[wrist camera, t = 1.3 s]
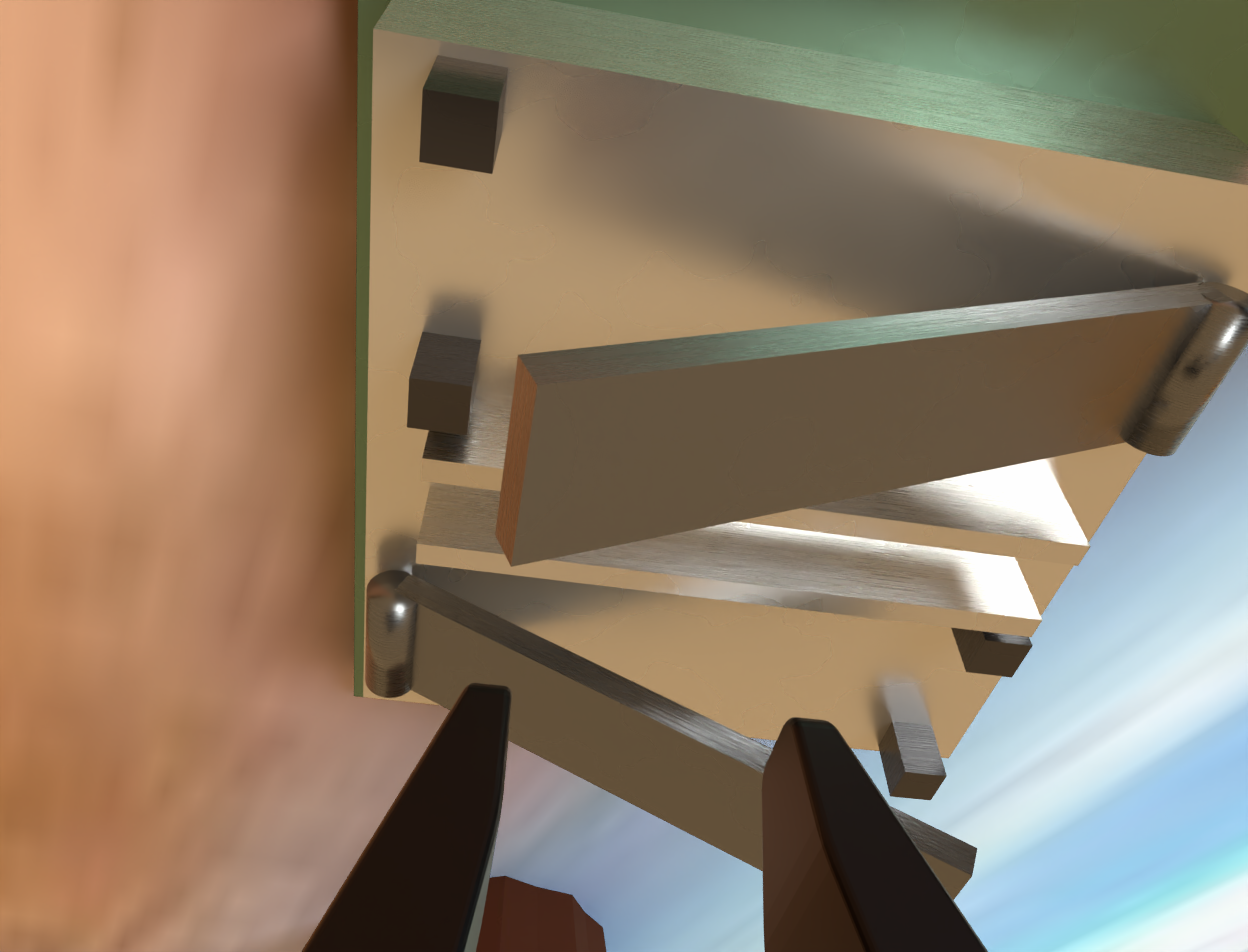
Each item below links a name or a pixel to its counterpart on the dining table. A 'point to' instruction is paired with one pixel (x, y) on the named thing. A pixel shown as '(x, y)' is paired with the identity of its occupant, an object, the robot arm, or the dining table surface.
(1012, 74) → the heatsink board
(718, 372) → the strap
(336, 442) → the dining table surface
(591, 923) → the muffin
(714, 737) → the strap
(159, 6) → the dining table surface
